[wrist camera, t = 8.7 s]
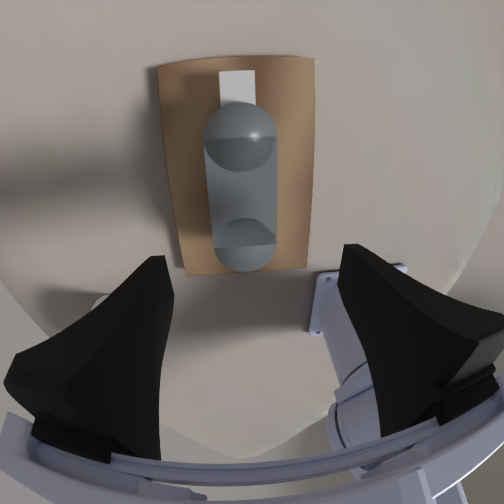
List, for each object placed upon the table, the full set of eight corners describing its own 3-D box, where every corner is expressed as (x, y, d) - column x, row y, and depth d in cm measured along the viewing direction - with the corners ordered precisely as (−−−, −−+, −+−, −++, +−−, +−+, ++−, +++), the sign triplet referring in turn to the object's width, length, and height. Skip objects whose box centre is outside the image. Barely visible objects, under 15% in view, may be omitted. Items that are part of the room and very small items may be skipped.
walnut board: (309, 60, 14) (314, 58, 13) (303, 260, 22) (306, 267, 21) (161, 67, 13) (157, 65, 13) (187, 268, 22) (186, 276, 21)
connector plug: (265, 74, 14) (276, 66, 10) (267, 236, 20) (276, 269, 16) (206, 76, 13) (199, 70, 10) (219, 239, 19) (217, 273, 16)
